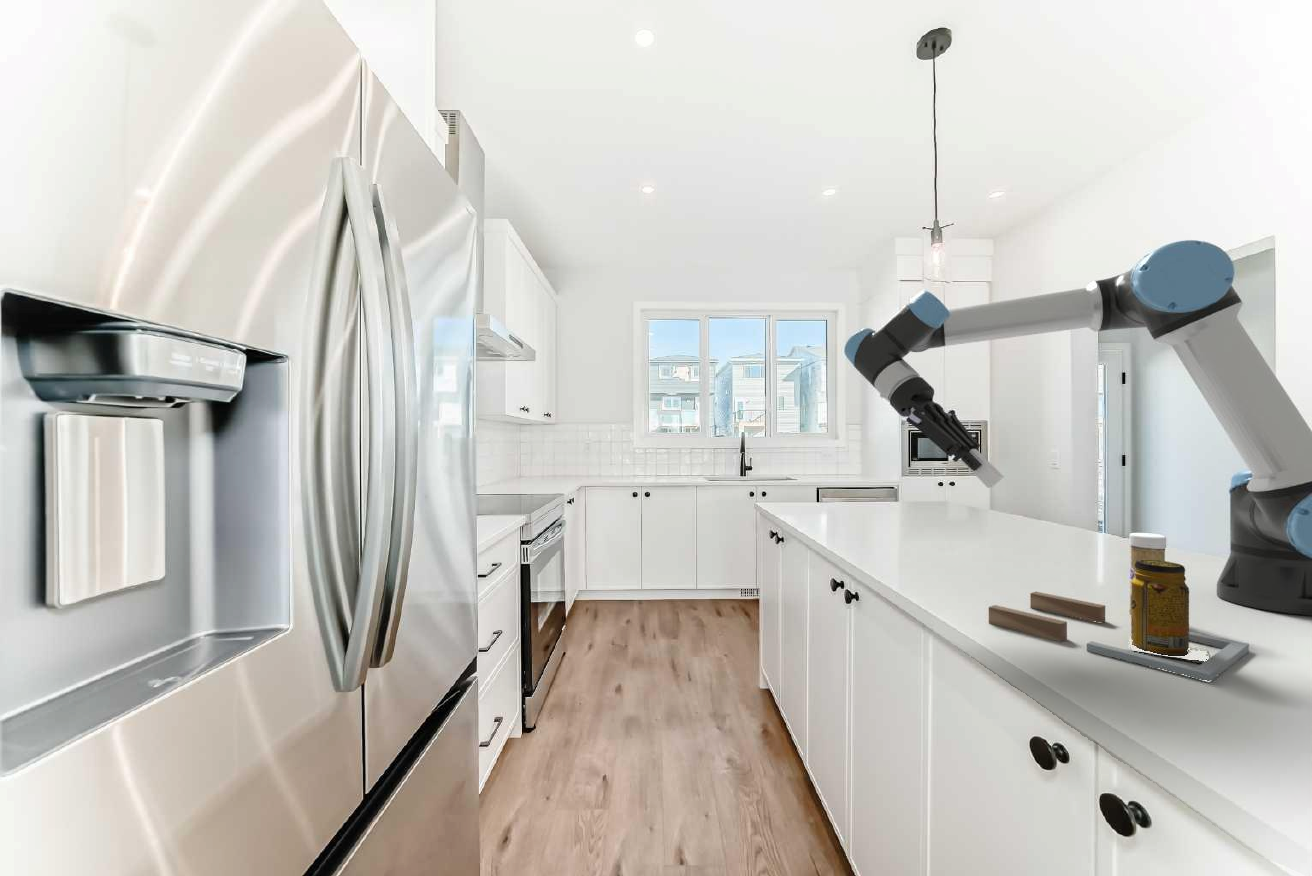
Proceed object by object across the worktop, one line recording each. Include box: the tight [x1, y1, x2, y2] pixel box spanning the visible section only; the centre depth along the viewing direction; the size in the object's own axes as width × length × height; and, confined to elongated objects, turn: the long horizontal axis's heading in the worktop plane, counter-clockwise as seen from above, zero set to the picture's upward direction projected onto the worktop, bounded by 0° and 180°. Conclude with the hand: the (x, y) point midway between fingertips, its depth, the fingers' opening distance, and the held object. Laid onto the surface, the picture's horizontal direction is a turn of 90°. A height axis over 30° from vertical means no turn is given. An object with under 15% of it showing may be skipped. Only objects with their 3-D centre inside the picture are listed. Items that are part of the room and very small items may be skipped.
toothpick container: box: [1128, 532, 1167, 616], centre depth 94 cm, size 5×5×14 cm
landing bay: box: [1086, 630, 1250, 681], centre depth 80 cm, size 18×12×1 cm
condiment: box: [1127, 560, 1210, 664], centre depth 80 cm, size 7×8×12 cm
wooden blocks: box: [988, 591, 1106, 643], centre depth 92 cm, size 16×10×2 cm, turn 124°
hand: (995, 482), depth 98 cm, fingers closed
